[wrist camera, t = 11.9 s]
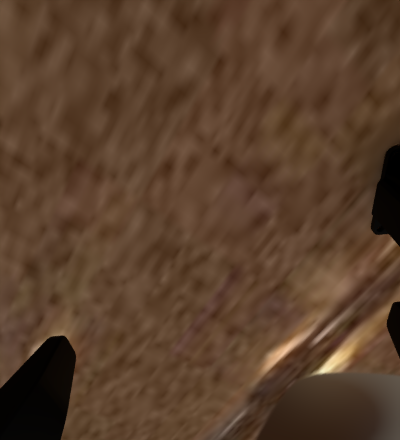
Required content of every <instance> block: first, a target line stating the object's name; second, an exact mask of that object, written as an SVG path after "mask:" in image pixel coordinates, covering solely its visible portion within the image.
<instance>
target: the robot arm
mask: <svg viewBox="0 0 400 440" xmlns="http://www.w3.org/2000/svg"><path fill="white" fill-rule="evenodd" d="M397 152H398V154H397V156H396V157H393V155H394V154H395V153H397ZM372 215H373V218H372V223H371V230H372V231H373V232H374V234H376V235H382V234H389V235H390V236H391V237H392V238H393V239H394V241H395V242H396V243H397V244H398V245H399V246H400V145H399V146H394V147H391V148H390V149H389V150H388V151H387V152H386V155H385V159H384V164H383V169H382V174H381V179H380V181H379V182H378V184H377V189H376V194H375V199H374V204H373V209H372ZM380 226H381V227H380ZM378 227H380V228H378ZM377 228H378V229H377ZM387 328H388V331H389V334H390V336H391V339H392V341H393V343H394V346H395V348H396V351H397V353H398V356H399V358H400V302H394V303H393V304H392V307H391V310H390V313H389V316H388V319H387ZM75 362H76V354H75V351H74V349H73V348H72V346H71V344H70V343H69V341H68V339H67V338H66V337H65V336H53V337H50V338H48V339H47V340H46V341H45V342H44V343H43V344H42V345H41V346H40V347H39V348H38V349H37V350H36V351H35V353H34V354H33V355H32V356H31V357H30V358H29V359H28V360H27V361H26V362H25V363H24V364H23V365H22V366H21V367H20V368H19V369H18V370H17V372H16V373H15V374H14V375H13V376H12V377H11V378H10V379H9V380H8V381H7V382H6V383H5V384H4V385H3V386H2V387H1V388H0V440H61V436H62V432H63V429H64V425H65V421H66V416H67V411H68V406H69V399H70V393H71V387H72V381H73V375H74V369H75Z"/></svg>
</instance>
